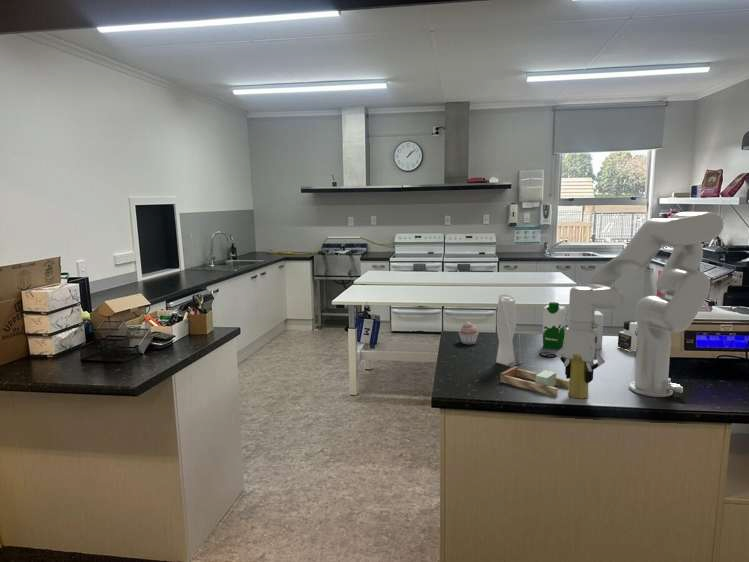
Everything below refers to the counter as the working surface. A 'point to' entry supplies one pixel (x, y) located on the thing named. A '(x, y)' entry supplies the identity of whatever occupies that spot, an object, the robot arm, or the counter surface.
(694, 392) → the counter surface
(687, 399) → the counter surface
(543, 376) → the block
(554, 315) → the milk carton
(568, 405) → the counter surface
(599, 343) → the supplement box
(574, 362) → the vase
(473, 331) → the cupcake
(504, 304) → the skyscraper
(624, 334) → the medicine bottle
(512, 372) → the track
